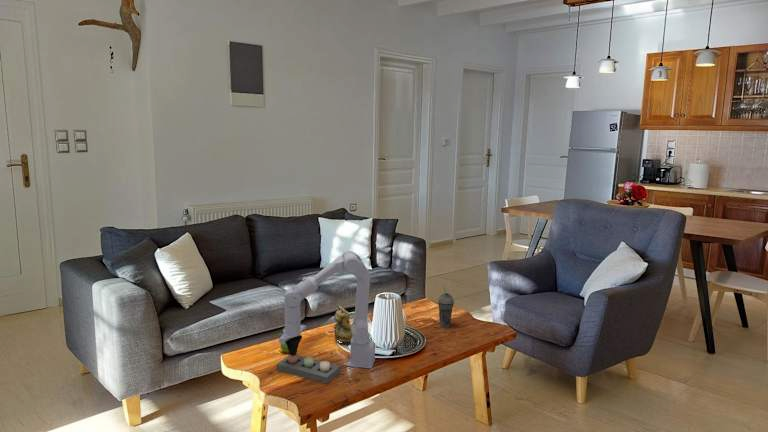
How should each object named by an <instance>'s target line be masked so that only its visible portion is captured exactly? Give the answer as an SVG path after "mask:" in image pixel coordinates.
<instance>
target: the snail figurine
mask: <svg viewBox="0 0 768 432" xmlns="http://www.w3.org/2000/svg"><path fill="white" fill-rule="evenodd" d="M284 329H285V327H283V328H282V329H281V336H282V335H283V333H284V332H283V330H284ZM280 348H281V350H282V351H283V352H284V353H289V350H288V347H287V345H286V343H284V344H281V343H280Z"/></svg>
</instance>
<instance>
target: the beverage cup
mask: <svg viewBox="0 0 768 432" xmlns="http://www.w3.org/2000/svg"><path fill="white" fill-rule="evenodd" d="M437 303H438V311H439V312H438V313H439V314H438V316H439V319H438V320H439V327H441V328H443V329H448V328H450V327H451V322H452V316H453V315H452V312H453V308H454V304H455V301H454V297H453V296H452V295H451V294H449V293H448V292H447V293H446V284H445V283H444V284H443V293H442V294H441V295H440V296H439V298H438V301H437Z"/></svg>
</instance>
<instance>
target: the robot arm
mask: <svg viewBox="0 0 768 432" xmlns="http://www.w3.org/2000/svg"><path fill="white" fill-rule="evenodd" d="M337 273H338V274H345V273H348V274H351V275H353V276H354V277H356V293H355V294H356V295H355V306H354V308H355V310H354V317H353V319H352V320H353V321H352V323H351V328H350V329H351V333H352V335H353V336H352V338H351V341H350V351H349V352H350V354H349V355H350V357H349V361H348V363H347V364H346V365H347V367H354V368H362V369H363V368H364V369H372V368H373V365H374V363H375V361H376V355H375V354H376V343H375V342H374V341H370V338H371V337H370V336H371V335H370V332H369V323H368V311H369V300H370V299H369V298H370V289H371V288H370V286H371V273H370V272H369V269H368V268H367V267H366V265H365V263H364V262H363V259H362V258H361V256H359V255H358V254H357V253H356V252H354V251H351V250H347V251H345V252H343V254H342V255H341V254H340V255H338V256H337V257H336V258H335V259H334V260H333V261H331V263H329V264H327V266H325V267H324V268H323V269H321V270H320V271H319V272H318V273H316V274H315V275H313V276H307V277H305V276H304V277H303V278H302V281H299V283H297V284H296V285H292V287H291V288H288V289H287V290H286V291H285V293H284V294H283V295H284V297H283V298H284V302H285V304H284V328H285V329H284V330H283V332H284V333H283V335H282V334H281V336H280V337H279V338H278V344H280V345H281V344H284V343H286V345H287V347H288V350H289V352H288V355H289V354H290V355H293V356H294V355H296V354H298V348H299V346H300V345H299V344H300V342H301V340H302V339H303V336H302V335H301V334H302V332H305V331H306V330H307V329H306V327H307V326H306V325H304V324H301V307H300V305H301V302H302V300H305V299H306V298H307V297H308V296H310V295H311V294H313V293H314V292H315V291H317V290H318V287H319V284H321V283H323V282H324V281H326V280H327V279H328V278H330V277H332V276H333V275H335V274H337Z"/></svg>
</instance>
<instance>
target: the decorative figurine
mask: <svg viewBox="0 0 768 432" xmlns="http://www.w3.org/2000/svg"><path fill="white" fill-rule="evenodd" d="M337 307H338V310H336V312H335V314H334V316H333V318H334V320H335V322H336V323H335V324H334V325H333V329H334V338H335V339H336V341H337V340H339V341H340V342H348V341H350V342H351V338H352V336H353V335H352V333H351V329H350V328H351V325H352V323H351V321H350V318H351V314H350V313H349V312H348V311H347V310H346V309H345V308H343V306H341V305H337Z"/></svg>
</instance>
